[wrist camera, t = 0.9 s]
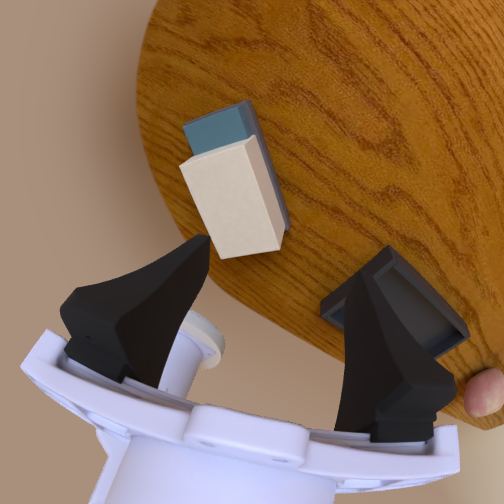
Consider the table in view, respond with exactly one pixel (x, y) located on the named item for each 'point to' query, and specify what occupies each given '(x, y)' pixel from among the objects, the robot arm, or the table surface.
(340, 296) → the tray
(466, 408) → the apple
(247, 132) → the toy truck
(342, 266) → the table surface
